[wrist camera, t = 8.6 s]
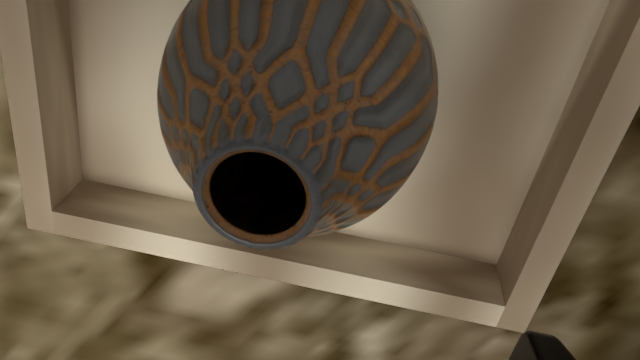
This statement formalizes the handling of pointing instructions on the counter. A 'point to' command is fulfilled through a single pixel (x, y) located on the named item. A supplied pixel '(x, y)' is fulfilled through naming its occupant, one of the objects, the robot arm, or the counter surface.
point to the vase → (295, 111)
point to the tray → (393, 217)
